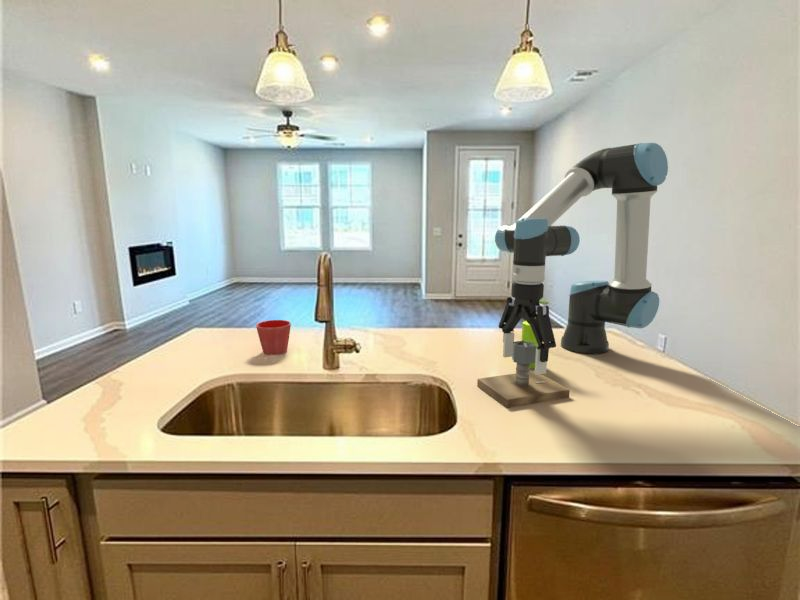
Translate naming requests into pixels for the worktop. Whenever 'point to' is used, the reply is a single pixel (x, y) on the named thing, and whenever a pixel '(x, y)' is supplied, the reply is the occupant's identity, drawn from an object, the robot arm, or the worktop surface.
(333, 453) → the worktop surface
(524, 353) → the knob
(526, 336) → the soap dispenser
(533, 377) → the wooden board with bolt
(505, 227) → the robot arm
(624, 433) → the worktop surface
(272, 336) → the flower pot
